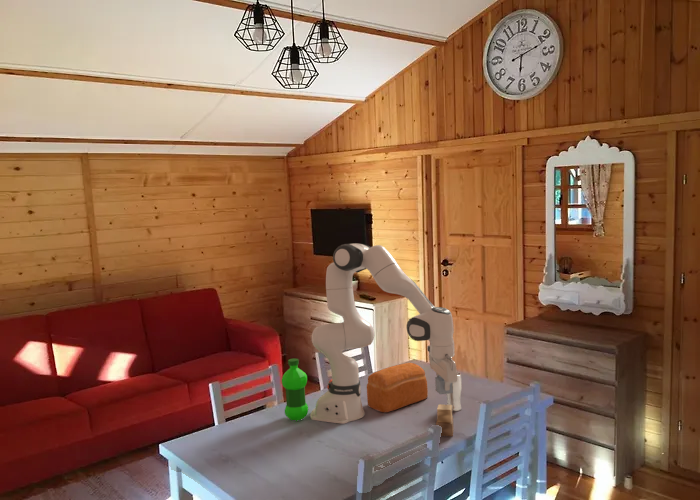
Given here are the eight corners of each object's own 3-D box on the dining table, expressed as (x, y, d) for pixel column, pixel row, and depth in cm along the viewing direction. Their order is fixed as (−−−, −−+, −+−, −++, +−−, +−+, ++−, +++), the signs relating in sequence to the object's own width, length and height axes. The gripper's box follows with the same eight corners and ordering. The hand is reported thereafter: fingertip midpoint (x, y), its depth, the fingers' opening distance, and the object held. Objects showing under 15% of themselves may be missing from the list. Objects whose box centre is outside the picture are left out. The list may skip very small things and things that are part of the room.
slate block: (435, 390, 224) (435, 377, 224) (448, 388, 225) (447, 375, 225) (440, 394, 219) (439, 381, 219) (452, 392, 220) (452, 379, 220)
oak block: (437, 422, 222) (437, 409, 221) (439, 416, 227) (438, 404, 226) (451, 422, 221) (450, 409, 220) (452, 417, 225) (451, 404, 225)
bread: (431, 398, 260) (429, 363, 258) (385, 414, 244) (383, 377, 242) (409, 390, 271) (408, 357, 269) (364, 405, 255) (362, 370, 254)
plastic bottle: (304, 424, 238) (300, 364, 235) (280, 422, 242) (276, 363, 239) (313, 415, 248) (309, 356, 245) (290, 413, 251) (286, 355, 248)
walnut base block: (436, 436, 222) (436, 423, 221) (437, 429, 227) (437, 416, 227) (452, 436, 220) (452, 423, 220) (453, 430, 226) (453, 417, 226)
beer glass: (443, 410, 245) (441, 375, 244) (448, 404, 251) (447, 370, 250) (459, 412, 242) (458, 377, 240) (464, 406, 248) (463, 371, 247)
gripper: (460, 357, 211) (462, 395, 212) (441, 343, 231) (442, 378, 232) (444, 359, 210) (445, 397, 211) (425, 345, 230) (427, 379, 231)
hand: (443, 387), depth 222 cm, fingers closed on slate block, 5 cm apart
